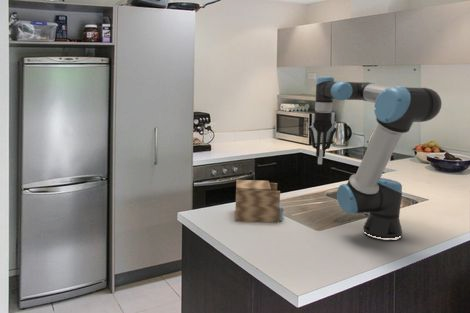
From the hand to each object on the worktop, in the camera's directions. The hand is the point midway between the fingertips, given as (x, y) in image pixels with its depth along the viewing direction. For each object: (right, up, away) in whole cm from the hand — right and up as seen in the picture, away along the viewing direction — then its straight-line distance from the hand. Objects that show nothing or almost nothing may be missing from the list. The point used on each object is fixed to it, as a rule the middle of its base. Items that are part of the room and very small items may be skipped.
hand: (319, 163), depth 193 cm
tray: (-27, -24, 0) cm, 36 cm away
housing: (-29, -24, 0) cm, 37 cm away
